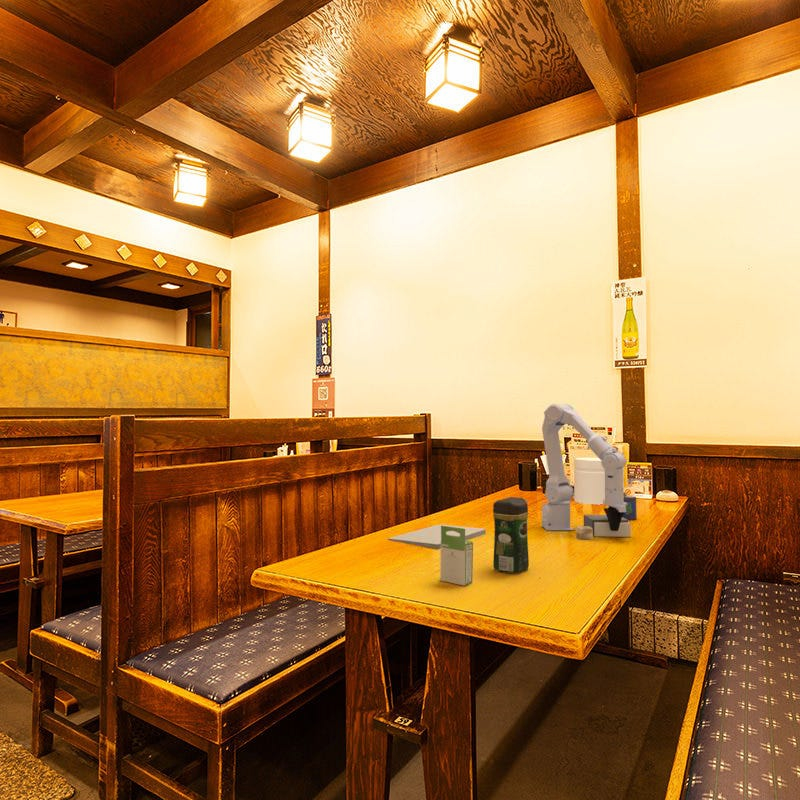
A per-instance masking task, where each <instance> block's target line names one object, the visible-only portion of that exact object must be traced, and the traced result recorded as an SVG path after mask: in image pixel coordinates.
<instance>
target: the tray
mask: <svg viewBox="0 0 800 800" xmlns="http://www.w3.org/2000/svg"><path fill="white" fill-rule="evenodd" d="M631 529H632V524H631V523H630V522H628V523H620V526H619V530H618V531H611V530H610V526H609V522H594V535H593V536H594V537H615V538H616V537H617V538H618V537H619V538H621V537H626V538H627V537H628V538H629V537H632V536H631V535H632V534H631V533H632V531H631Z"/></svg>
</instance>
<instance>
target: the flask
mask: <svg viewBox="0 0 800 800" xmlns="http://www.w3.org/2000/svg"><path fill="white" fill-rule="evenodd" d="M623 494H624V502H626V503H627V505H625V506H626V512H625V513H624V515H623V518H625V519H627V520H628V521H637V511H638V510H637V496H633V495H632V496H630V495H628V496H627V492H626V491H623Z"/></svg>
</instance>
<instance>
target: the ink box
mask: <svg viewBox="0 0 800 800" xmlns="http://www.w3.org/2000/svg"><path fill="white" fill-rule="evenodd" d="M448 526H449V525H448ZM448 526H441V549H440V575H439V576H440V579H439V580H440V581H442V582H446V583H451V584H455V585H459V586H464V587H465V586H468V585H471V584H472V583H473V577H474V576H473V575H474V573H473V571H474V570H473V569H474V567H473V565H474V564H473V562H474V555H473V554H474V542H473V541H470V540H466V541H465V529H463V528H455V527H448ZM448 531H455V532H457V533H459V534H460V536H453V535H447V534H446V532H448Z"/></svg>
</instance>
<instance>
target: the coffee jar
mask: <svg viewBox="0 0 800 800" xmlns="http://www.w3.org/2000/svg"><path fill="white" fill-rule="evenodd" d="M492 505H493V506H492V508H493V509H492V515H493V521H494V535H493V536H494V537H493V538H494V540H493V569H494V570H495V571H497V572H499V573H503V574H519V573H522V572H524V571H525V570H527V569H528V568H529V565H530V564H529V563H530V559H529V543H528V541H529V539H528V517H529V507H528V506H529V505H528V502H527V500H525V499H524V498H522V497H517V496H515V497H514V496H510V497H505V498H503V499H499V500H496V501H495V502H493V504H492Z"/></svg>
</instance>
